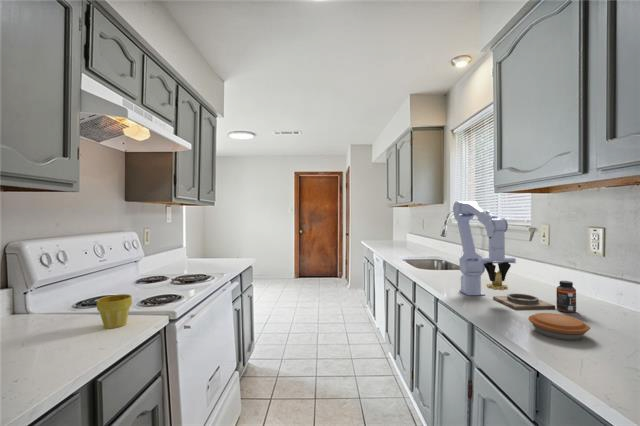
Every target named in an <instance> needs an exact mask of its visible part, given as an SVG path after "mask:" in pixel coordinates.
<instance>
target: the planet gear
mask: <svg viewBox="0 0 640 426" xmlns="http://www.w3.org/2000/svg"><path fill="white" fill-rule="evenodd" d="M494 276H495V279H494V281H491V283H486V288H487V289H491V290H493V291H496V290H499V291H504V290H509V286H508V285H507V284H503V281H502V272H501V271H499V270H495V273H494Z"/></svg>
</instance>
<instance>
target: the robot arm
mask: <svg viewBox="0 0 640 426" xmlns="http://www.w3.org/2000/svg"><path fill="white" fill-rule="evenodd" d="M452 213H453V217H454V220H456V222H457V227H458V231H459V236H460V240H461V246H462V247H461V248H462V251H463V255H462V256H461V257H459V259H458V260H459V271H460V272H461V273H462V274H461V276H460V289H459V290H458V291H459V292H461V293H463V294H465V295H467V296H486V294H485V293H484V292H482V277H481V276H483V274H484V272H485V271H486V272H487V275H488V278H489V281H491V282H492V281H494V279H495V276H494V273H495V271H496V267H497V266H496V265H495V264H497V265H498V271H501V272H502V282H505V280H506V278H507V273H508V272H509V270H510V268H511V267H512V266H511V264H516V263H517V261H516V260H517V259H516V258H515V257H506V256H505V255H506V251H505V248H506V247H505V242H506V241H505V240H506V239H505V236H506V235H505V232H507V231H508V227H509V225H508V221H507V219H506V218H504V217H500V218H499V217H498V216H497V215H495V214H493V212H491V211H490V210H489V209H487V210H483V209H482V208H481V207H480V206H479V203H478V202H477V201H476V200H471V201H470V200H469V201H468V200H467V201H465V200H464V201H463V200H462V201H461V200H460V201H459V200H456V201H455V202H454V203H453V207H452ZM474 217H477V221H478V222H479V223H481V225H483V226H484V227H485V228H484V229H485V230H486V235H487V237H488V257H482V256H481V255H480V254H478V253H477V252H476V248H475V242H474V239H473V235H472V234H473V233H472V230H471V226H470V221H471V220H473V219H474Z"/></svg>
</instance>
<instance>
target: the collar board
mask: <svg viewBox="0 0 640 426" xmlns="http://www.w3.org/2000/svg"><path fill="white" fill-rule="evenodd" d="M492 299H493V301H496V302H498V303H500V304H502V305H505V306H507V307H509V308H511V309H513V310H515V311H517V310H551V309H552V310H553V309H554V310H555V309H556V305H555V304H551V303H549V302H547V301H543V300H542V299H539V298H538V296H534V295H530V294H526V293H508V294H507V295H501V296H500V295H499V296H498V295H497V296H494V295H493V296H492Z"/></svg>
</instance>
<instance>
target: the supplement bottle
mask: <svg viewBox="0 0 640 426" xmlns="http://www.w3.org/2000/svg"><path fill="white" fill-rule="evenodd" d="M558 284H559V285H558V286H557V287H556V291H555V292H556V310H558V311H559V312H562V313H568V314H572V313H573V314H574V313H576V312H577V289H576V288H575V287H574V286H573V285H574V283H573V281H569V280H559V283H558Z"/></svg>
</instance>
